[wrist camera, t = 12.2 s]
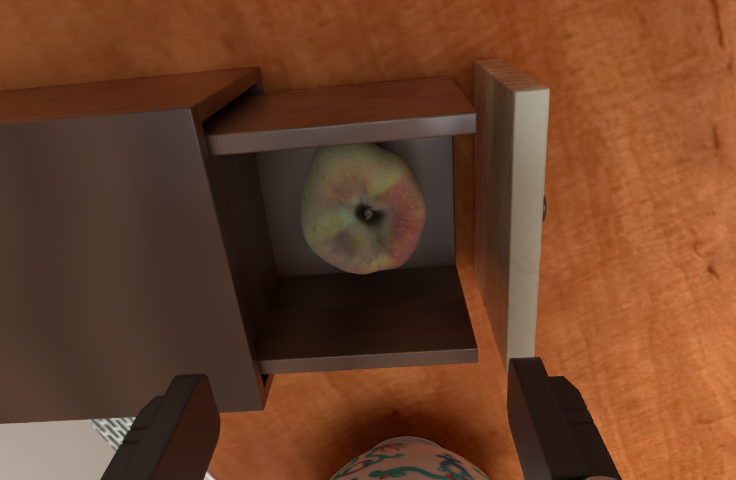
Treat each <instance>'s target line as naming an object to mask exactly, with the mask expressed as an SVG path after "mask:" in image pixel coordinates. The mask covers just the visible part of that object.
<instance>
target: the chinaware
mask: <svg viewBox="0 0 736 480" xmlns="http://www.w3.org/2000/svg"><path fill="white" fill-rule="evenodd" d="M330 480H491V479H490V478H489V477H488V476H487V475H486V474H484V473H483V472H482V471H481V470H480V469H479V468H477V467H476V466H475V465H473V464H472V463H471V462H469V461H468V460H466V459H464V458H463V457H461V456H459V455H457V454H455V453H453V452H451V451H449V450H446V449H443V448H441V447H440V446H439V445H437V444H436V443H434V442H432V441H430V440H427V439H424V438H420V437H413V436H402V437H395V438H391V439H388V440H385V441H383V442H381V443H379V444H377V445H376V446H375V447H373V448H372V449H371V450H369V451H367V452H365V453H363V454H361V455H359V456H357V457H356V458H354V459H353V460H351V461H350V462H348V463H347V464H346V465H344V466H343V467H342V468H341V469H340V470H339V471H337V472H336V473H335V474H334V475H333V476H332V477H331V479H330Z"/></svg>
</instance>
